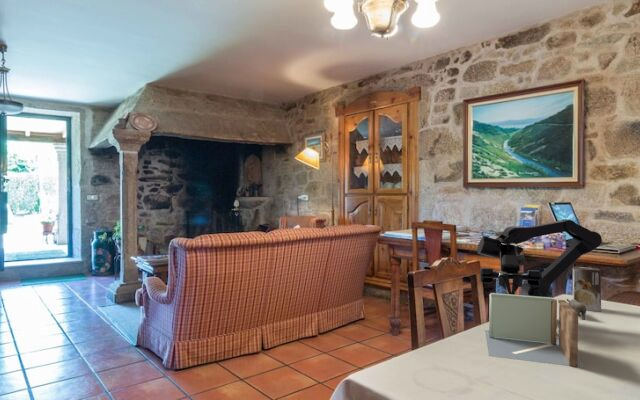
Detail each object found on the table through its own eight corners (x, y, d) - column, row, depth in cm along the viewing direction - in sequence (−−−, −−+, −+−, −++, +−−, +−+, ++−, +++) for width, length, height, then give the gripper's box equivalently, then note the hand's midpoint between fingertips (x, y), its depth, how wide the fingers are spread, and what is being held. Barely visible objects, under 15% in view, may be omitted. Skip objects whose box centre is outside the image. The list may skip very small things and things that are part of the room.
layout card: (485, 331, 134) (485, 329, 134) (563, 339, 127) (563, 338, 127) (488, 357, 112) (488, 355, 112) (583, 369, 105) (583, 367, 105)
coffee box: (599, 308, 163) (599, 267, 163) (601, 312, 157) (601, 270, 157) (572, 305, 167) (572, 266, 167) (573, 309, 161) (573, 268, 161)
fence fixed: (557, 346, 120) (558, 298, 120) (564, 346, 120) (565, 298, 119) (570, 366, 106) (571, 312, 105) (578, 367, 105) (579, 313, 105)
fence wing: (489, 335, 128) (489, 292, 128) (555, 343, 122) (556, 297, 122) (489, 337, 126) (489, 293, 126) (556, 345, 120) (557, 299, 120)
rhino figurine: (574, 311, 159) (574, 295, 159) (588, 321, 145) (589, 304, 145) (562, 310, 160) (562, 295, 160) (576, 320, 146) (576, 304, 146)
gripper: (480, 244, 143) (480, 282, 133) (540, 246, 136) (546, 286, 126) (480, 263, 150) (481, 301, 140) (538, 266, 143) (542, 305, 133)
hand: (511, 298), depth 135 cm, fingers closed
